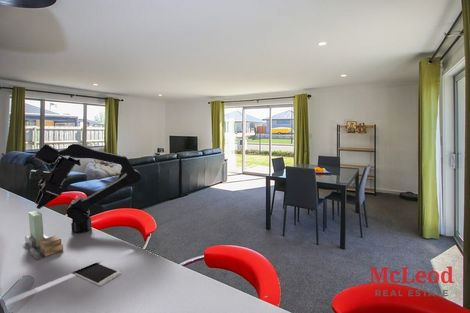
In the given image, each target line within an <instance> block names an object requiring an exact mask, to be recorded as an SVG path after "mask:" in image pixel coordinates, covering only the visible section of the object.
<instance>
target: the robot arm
mask: <svg viewBox="0 0 470 313" xmlns="http://www.w3.org/2000/svg"><path fill="white" fill-rule="evenodd" d="M67 156H69V157H68V158H66V157H67ZM33 158H34V159H35V160H37V161H40V162H42V163H44V164H46V165H49V166H50V165H52V164H53V165H54V167H53V168H51V169H50V170H49V171H44V170H43V169H39V168H38V169H36V170H35V169H31V170H30V173H29V177H28V178H29V180H39V182H38V187H39V192H38V194H37V197H36V199H35V201H34V204H36V209H38V210H39V209H40V210H41V209H42V208H44V207H45V206H46V205H48V204H49V203H51V202H52V201H54V200H55V199H57V198H59V197H61V195H62V194H63V192H64V190H63V188H62V187H63V183H64V182H65V181H66V179H68V178H69V174H70V173H71V172H72V171H73V169H74V167H75V166H76V165H77V166H78V167H79V166H80V167H81V159H92V160H96V161H101V162H106V163H111V164H116V165H120V166H121V168H122V169H123V171H124V172H125V173H124V174H122V175H121V177H120V178H118V179H117V180H115V181H114V182H112V183H110V184H108V185H106V186H105V187H103V188H101V189H100V190H97V191H96V192H94V193H92V194H91V195H88V196H86V197H83V196H82V195H80V196H79V197H78V198H77V197H76V199H72V200H71V201H70V203H69V205H68V207H67V209H66V215H67V216H68V218H71V221H72V222H71V224H70V225H71V232H72V233H75V234H84V233H89V231H91V230H92V217H91V216H89V215H90V213H91V210H90V209H91V207H93V206H94V205H96V204H97V203H99V202H101V201H103V200H104V199H106V198H108V197H109V196H112V195H113V194H115V193H116V192H118V191H120V190H121V189H123V188H124V189H125V188H127V187H131V186H133V185H136V184H137V183H139V182H140V181H141V178H142V177H141V174H140V172H139V171H138V169H135V168H134V167H133V166H132V164H131V162H130V161H129V159H128V157H127V156H126V155H120V154H119V155H118V154H116V153H111V152H106V151H103V150H102V151H101V150H97V149H94V148H91V147H88V146H87V145H84V144H82V143H78V142H73V143H71V144H70V145H68V146H67V148H62V149H61V150H59V149H57V148H55V147H53V146H52V145H50V144H48V143H45V144H43V145H42V147H41V148H40V149H39V150H38V151H36V152H35V154H34V157H33Z"/></svg>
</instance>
